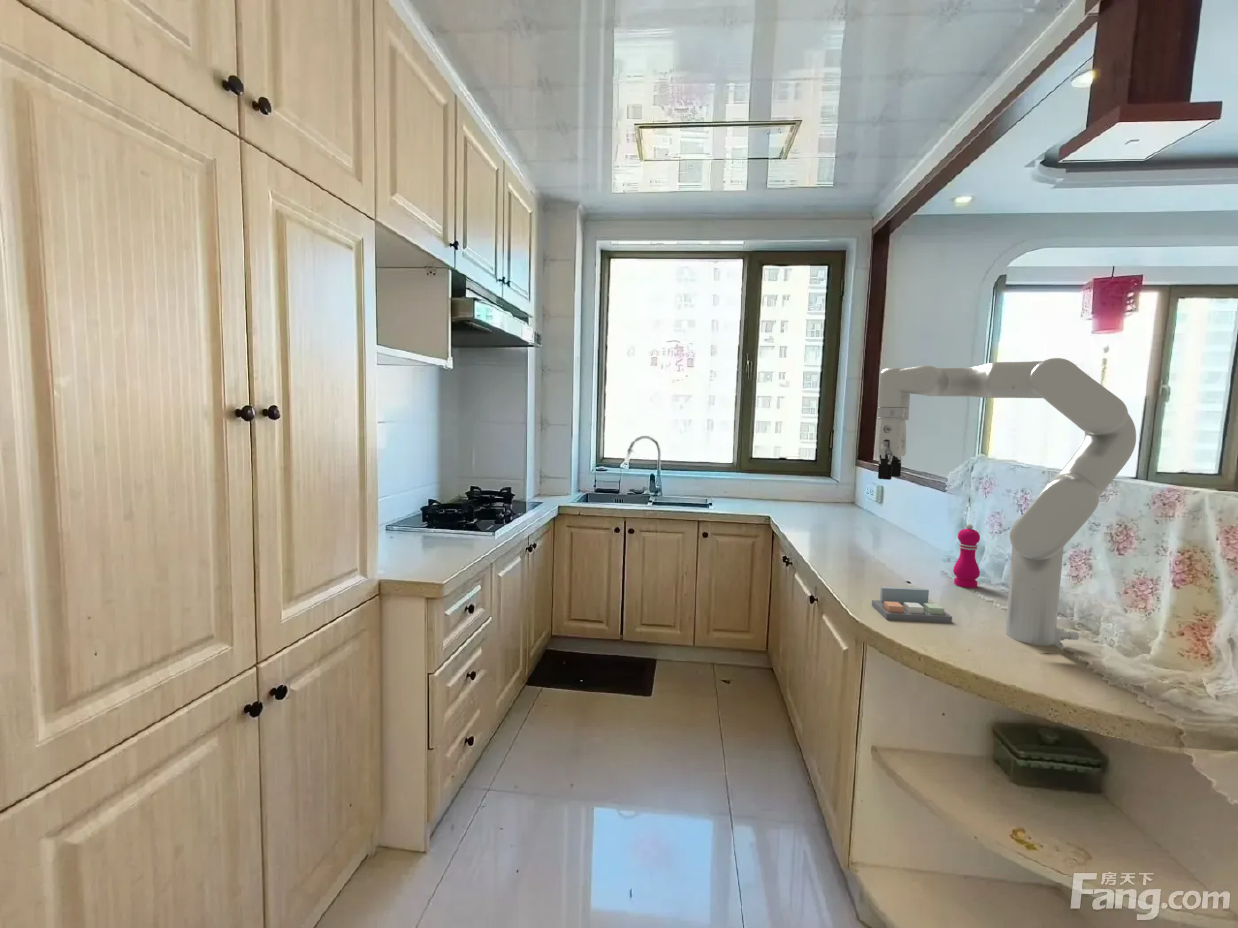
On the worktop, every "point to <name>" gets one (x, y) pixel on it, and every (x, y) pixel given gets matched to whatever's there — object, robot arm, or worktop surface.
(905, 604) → the white key
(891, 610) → the terracotta key
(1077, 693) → the worktop surface
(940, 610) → the sage key
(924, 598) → the keypad
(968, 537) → the pepper mill
